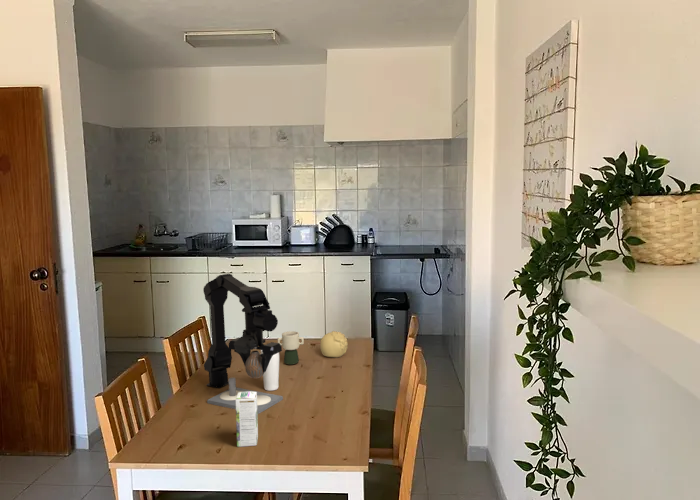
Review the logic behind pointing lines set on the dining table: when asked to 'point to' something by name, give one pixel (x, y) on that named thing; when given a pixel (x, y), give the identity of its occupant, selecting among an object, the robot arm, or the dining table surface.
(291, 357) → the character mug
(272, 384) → the white tapered cylinder
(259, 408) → the board
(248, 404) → the syrup box
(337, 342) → the sculpture
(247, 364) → the vase
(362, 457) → the dining table surface
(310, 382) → the dining table surface
